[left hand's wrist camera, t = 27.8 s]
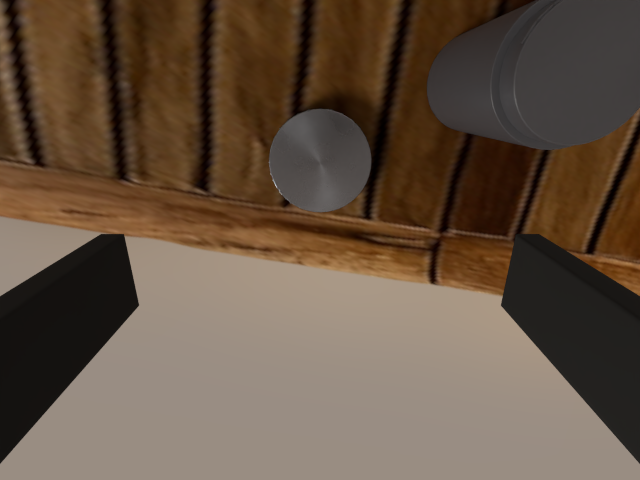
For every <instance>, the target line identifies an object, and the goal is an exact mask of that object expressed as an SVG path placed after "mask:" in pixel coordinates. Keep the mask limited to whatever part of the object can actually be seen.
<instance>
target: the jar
mask: <svg viewBox="0 0 640 480" xmlns="http://www.w3.org/2000/svg"><path fill="white" fill-rule="evenodd" d="M427 95H428V100H429V104H430V107H431V109H432V111H433V113H434V115H435V116H436V117H437V118H438V120H440V121H441V122H442V123H443V124H444V125H446V126H447V127H449V128H451V129H454V130H457V131H461V132H466V133H470V134H475V135H479V136H483V137H488V138H492V139H496V140H501V141H505V142H510V143H514V144H518V145H523V146H527V147H531V148H537V149H545V150H553V149H561V148H566V147H570V146H573V145H580V144H584V143H589V142H592V141H595V140H597V139H600V138H602V137H604V136H606V135H608V134H610V133H611V132H613V131H614V130H616V129H617V128H619V127H620V126H621V125H623V124H624V123H625V122H626V121H627V120H628V119H629V118H631V117H632V116H633V115H634V113H635V112H636V111H637V110H638V109H639V108H640V0H535V1H533V2H531V3H529V4H527V5H524V6H522V7H520V8H518V9H516V10H513V11H511V12H509V13H507V14H505V15H503V16H500V17H498V18H496V19H494V20H492V21H489V22H487V23H485V24H483V25H481V26H479V27H476V28H474V29H472V30H470V31H468V32H465V33H463V34H461V35H459V36H457V37H456V38H454V39H453V40H451V41H450V42H449V43H448V44H447V45H446V46H445V47H444V48H443V49H442V50H441V51H440V52H439V54H438V55H437V57H436V58H435V60H434V62H433V64H432V67H431V69H430V72H429V76H428V82H427Z"/></svg>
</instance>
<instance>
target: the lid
mask: <svg viewBox="0 0 640 480" xmlns="http://www.w3.org/2000/svg"><path fill="white" fill-rule="evenodd" d="M366 138H367V137H366V136H365V135H364V133H363V132H362V130H361V128H360V127H359V126H358V125H357V124H356V123H354V122H353V121H352V119H350V118H348V117H347V116H345V115H343V113H339V112H337V111H334V110H332V109H331V110H329V109H321V108H320V109H311V110H310V109H308V110H307V111H304V112H301V113H297V115H295V116H294V117H292V118H291V119H288V121H287V122H286V123H285V124H284V125H283V126H282V127H280V130H279V131H278V133H277V134H276V136H275V137H274V140H273V143H272V146H271V148H270V156H269V165H270V172H271V176H272V179H273V181H274V183H275V185H276V187H277V189H278V190H279V191H280V193H281V194H282V195H283V196H284V197H285V198H286V199H287V200H288V201H289V202H291V203H292V204H294V205H295V206H297V207H299V208H301V209H304V210H308V211H313V212H328V211H333V210H336V209H339V208H341V207H343V206H345V205H347V204H348V203H350V202H351V201H352V200H354V199H355V198H356V197H357V196H358V195H359V194H360V192H361V191H362V189H363V188H364V186H365V184H366V182H367V180H368V177H369V174H370V169H371V152H370V147H369V144H368V141H367V139H366Z"/></svg>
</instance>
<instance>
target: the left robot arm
mask: <svg viewBox="0 0 640 480" xmlns="http://www.w3.org/2000/svg"><path fill="white" fill-rule="evenodd" d="M138 306H139V303H138V298H137V294H136V289H135V284H134V279H133V275H132V270H131V265H130V261H129V256H128V251H127V246H126V242H125V237H124V234H101V235H99V236H97V237H96V238H94V239H92V240H91V241H89V242H88V243H86V244H84V245H83V246H81V247H79V248H78V249H76V250H75V251H73V252H71V253H70V254H68V255H66V256H65V257H63V258H62V259H60V260H58V261H57V262H55V263H53V264H52V265H50V266H49V267H47V268H45V269H44V270H42V271H41V272H39V273H37V274H36V275H34V276H32V277H31V278H29V279H28V280H26V281H24V282H23V283H21V284H19V285H18V286H16V287H15V288H13V289H11V290H10V291H8V292H6V293H5V294H3V295H2V296H0V463H1V462H2V461H3V460H4V459H5V458H6V456H7V455H8V454H9V453H10V452H11V451H12V450H13V448H14V447H15V446H16V445H17V444H18V443H19V442H20V440H21V439H22V438H23V437H24V436H25V435H26V434H27V432H28V431H29V430H30V429H31V428H32V427H33V426H34V425H35V423H36V422H37V421H38V420H39V419H40V418H41V417H42V415H43V414H44V413H45V412H46V411H47V410H48V409H49V407H50V406H51V405H52V404H53V403H54V402H55V401H56V399H57V398H58V397H59V396H60V395H61V394H62V393H63V391H64V390H65V389H66V388H67V387H68V386H69V385H70V383H71V382H72V381H73V380H74V379H75V378H76V377H77V376H78V374H79V373H80V372H81V371H82V370H83V369H84V368H85V366H86V365H87V364H88V363H89V362H90V361H91V360H92V358H93V357H94V356H95V355H96V354H97V353H98V352H99V350H100V349H101V348H102V347H103V346H104V345H105V344H106V343H107V341H108V340H109V339H110V338H111V337H112V336H113V335H114V333H115V332H116V331H117V330H118V329H119V328H120V327H121V325H122V324H123V323H124V322H125V321H126V320H127V319H128V317H129V316H130V315H131V314H132V313H133V312H134V311H135V309H136V308H137V307H138ZM501 306H502V307H503V308H504V309H505V311H506V312H507V313H508V314H509V315H510V316H511V317H512V319H513V320H514V321H515V322H516V323H517V324H518V325H519V327H520V328H521V329H522V330H523V331H524V332H525V333H526V335H527V336H528V337H529V338H530V339H531V340H532V341H533V343H534V344H535V345H536V346H537V347H538V348H539V349H540V350H541V352H542V353H543V354H544V355H545V356H546V357H547V358H548V360H549V361H550V362H551V363H552V364H553V365H554V366H555V368H556V369H557V370H558V371H559V372H560V373H561V374H562V376H563V377H564V378H565V379H566V380H567V381H568V382H569V384H570V385H571V386H572V387H573V388H574V389H575V390H576V391H577V393H578V394H579V395H580V396H581V397H582V398H583V399H584V401H585V402H586V403H587V404H588V405H589V406H590V407H591V409H592V410H593V411H594V412H595V413H596V414H597V415H598V417H599V418H600V419H601V420H602V421H603V422H604V423H605V425H606V426H607V427H608V428H609V429H610V430H611V431H612V432H613V434H614V435H615V436H616V437H617V438H618V439H619V441H620V442H621V443H622V444H623V445H624V446H625V447H626V449H627V450H628V451H629V452H630V453H631V454H632V455H633V456H634V458H635V459H636V460H637V461H638V462H639V463H640V296H638V295H637V294H635V293H634V292H632V291H630V290H629V289H627V288H625V287H624V286H622V285H621V284H619V283H617V282H616V281H614V280H612V279H611V278H609V277H608V276H606V275H604V274H603V273H601V272H599V271H598V270H596V269H595V268H593V267H591V266H590V265H588V264H587V263H585V262H583V261H582V260H580V259H578V258H577V257H575V256H574V255H572V254H570V253H569V252H567V251H565V250H564V249H562V248H561V247H559V246H557V245H556V244H554V243H552V242H551V241H549V240H548V239H546V238H544V237H543V236H541V235H539V234H516V237H515V242H514V246H513V251H512V256H511V261H510V265H509V270H508V275H507V279H506V284H505V289H504V294H503V298H502V303H501Z"/></svg>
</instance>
